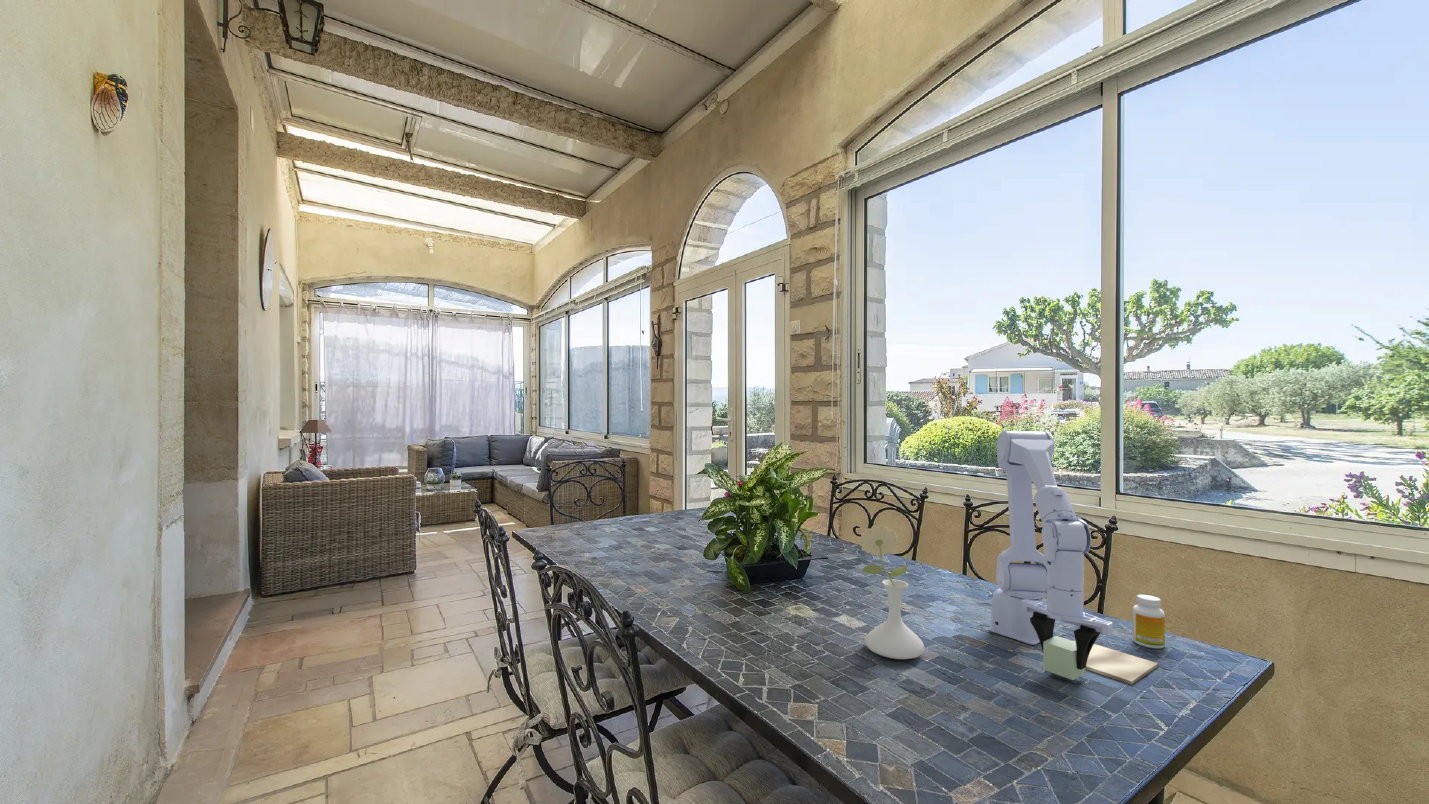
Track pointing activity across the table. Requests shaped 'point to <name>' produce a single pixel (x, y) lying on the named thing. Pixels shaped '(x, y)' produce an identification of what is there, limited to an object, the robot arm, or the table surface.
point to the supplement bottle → (1148, 622)
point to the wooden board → (1118, 664)
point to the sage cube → (1061, 657)
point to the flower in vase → (893, 633)
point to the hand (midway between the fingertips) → (1064, 662)
